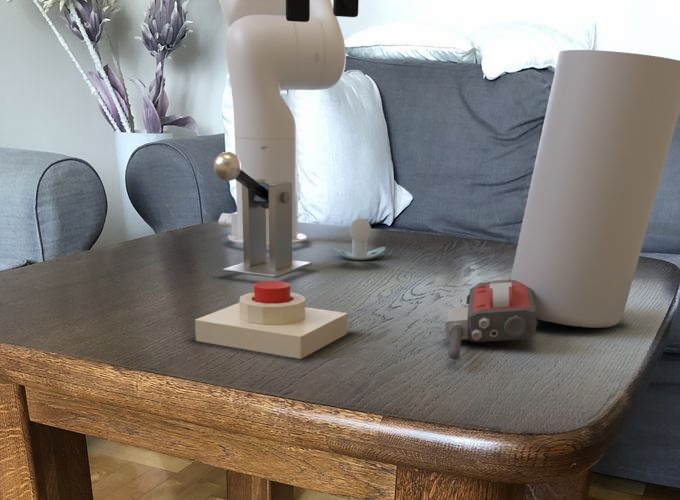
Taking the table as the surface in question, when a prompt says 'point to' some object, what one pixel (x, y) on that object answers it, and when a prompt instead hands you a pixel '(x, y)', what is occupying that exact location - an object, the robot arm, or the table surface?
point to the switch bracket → (278, 234)
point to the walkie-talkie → (492, 315)
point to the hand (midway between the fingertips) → (320, 18)
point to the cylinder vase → (595, 183)
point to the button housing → (272, 327)
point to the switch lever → (241, 177)
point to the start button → (272, 292)
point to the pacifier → (360, 242)
